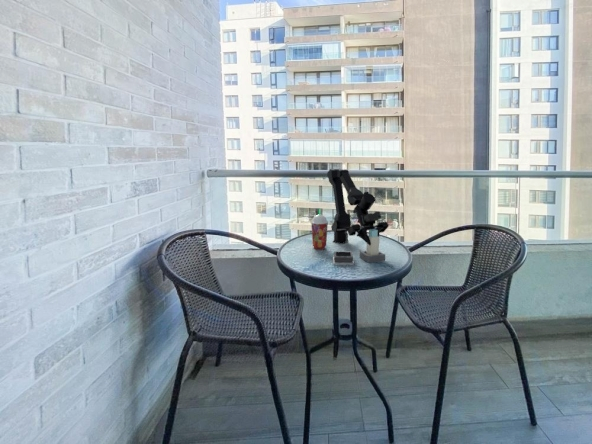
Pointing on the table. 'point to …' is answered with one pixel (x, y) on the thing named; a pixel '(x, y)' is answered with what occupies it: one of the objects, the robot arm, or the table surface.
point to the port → (343, 258)
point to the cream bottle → (373, 243)
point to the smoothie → (319, 231)
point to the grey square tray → (372, 257)
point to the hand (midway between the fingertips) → (374, 244)
